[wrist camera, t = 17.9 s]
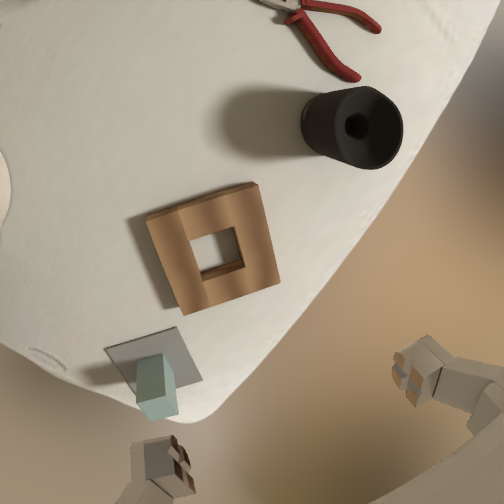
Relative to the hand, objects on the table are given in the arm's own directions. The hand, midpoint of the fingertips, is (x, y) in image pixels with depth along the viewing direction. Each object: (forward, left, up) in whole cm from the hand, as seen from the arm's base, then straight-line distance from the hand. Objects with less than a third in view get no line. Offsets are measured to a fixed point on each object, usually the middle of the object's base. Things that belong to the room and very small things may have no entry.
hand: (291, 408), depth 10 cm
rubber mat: (-15, -24, -33) cm, 43 cm away
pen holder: (+19, +4, -33) cm, 38 cm away
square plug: (-15, -24, -32) cm, 43 cm away
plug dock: (0, -8, -33) cm, 34 cm away
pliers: (+22, +20, -33) cm, 45 cm away
